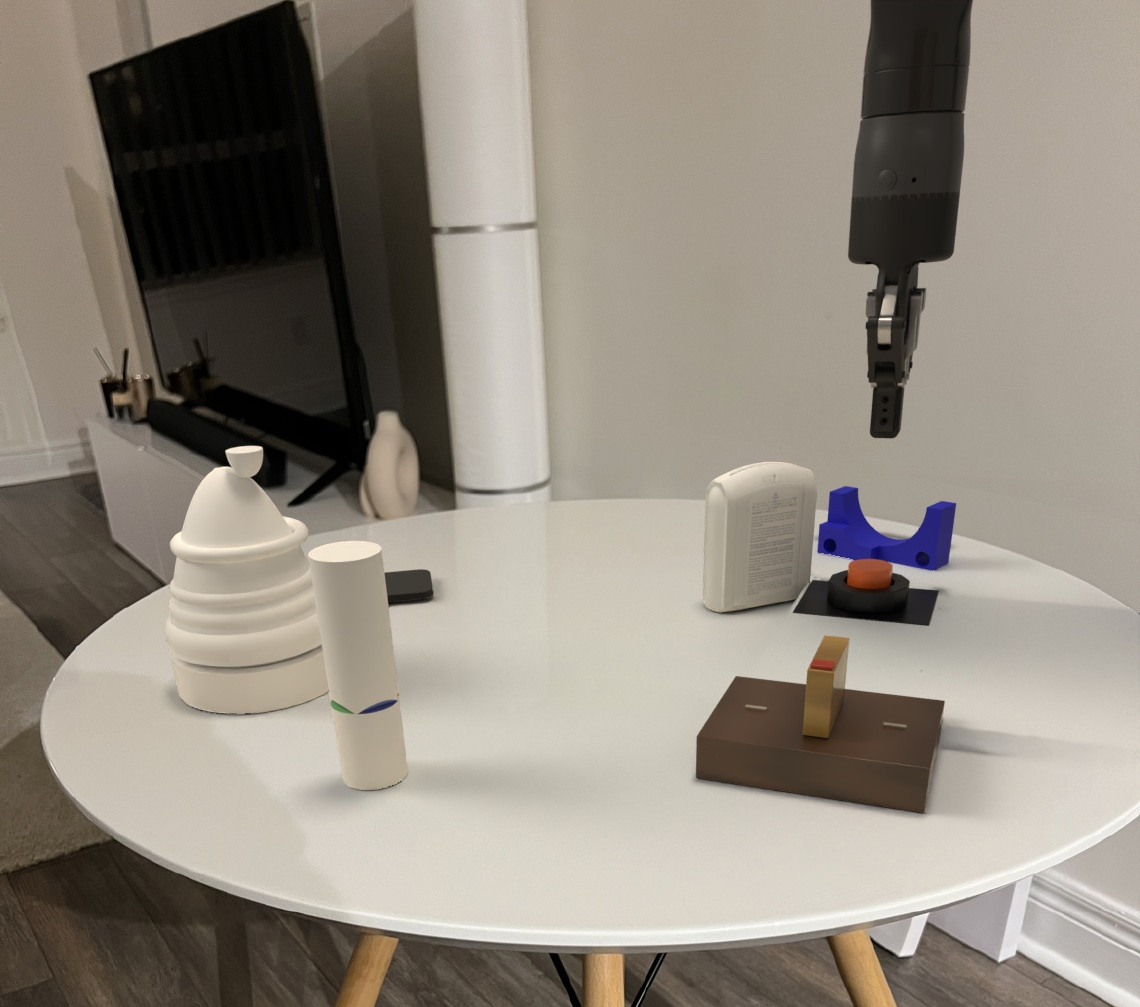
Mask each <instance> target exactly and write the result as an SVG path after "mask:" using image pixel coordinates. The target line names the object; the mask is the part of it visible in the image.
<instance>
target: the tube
mask: <svg viewBox="0 0 1140 1007" xmlns="http://www.w3.org/2000/svg"><path fill="white" fill-rule="evenodd" d="M307 557H308V561H309V564H310V570H311V577H312V583H313V590H314V597H315V603H316V610H317V616H318V623H319V629H320V636H321V643H322V649H323V656H324V662H325V669H326V675H327V682H328V688H329V691H328V694H329V699H330V700H331V701H330V708H331V714H332V719H333V720H332V721H333V728H334V734H335V740H336V746H337V747H336V748H337V752H338V760H339V765H340V766H339V767H340V773H341V779H342V783H344V785H345V786H347V787H349V788H352V789H355V790H359V791H375V790H383V789H387V788H390V787H393V786H395V785H397V784H399V783H401V782H402V781H403V780H404V779H405V778H406V777H407V776H408V774H409V768H408V767H409V766H408V760H407V759H408V758H407V751H406V743H405V742H406V741H405V734H404V725H403V718H402V717H403V716H402V709H401V708H402V707H401V700H400V692H399V683H398V676H397V667H396V658H395V650H394V649H395V648H394V642H393V633H392V624H391V617H390V607H389V602H388V599H387V590H386V582H385V567H384V566H385V565H384V558H383V549H382V546H381V544H378V543H376V542H372V541H365V540H345V541H337V542H331V543H326V544H323V545H320V546H316V547H315V548H312V549H311V550H310V551H309V552H308V555H307ZM407 773H408V774H407ZM406 775H407V776H406ZM405 776H406V777H405ZM403 778H404V779H403ZM400 781H401V782H400ZM398 782H399V783H398ZM392 785H393V786H392ZM389 786H390V787H389ZM382 788H383V789H382Z"/></svg>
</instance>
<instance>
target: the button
mask: <svg viewBox="0 0 1140 1007" xmlns="http://www.w3.org/2000/svg"><path fill="white" fill-rule="evenodd" d="M893 568H894V566H893V563H891V562H886V561H883V560H877V559H859V560H851V561H850V562H848V567H847V570H848V577H847V584H848V585H850V586H854V587H857V588H867V589H878V588H887V587H889V586H891V579H892V573H893Z"/></svg>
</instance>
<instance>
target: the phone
mask: <svg viewBox="0 0 1140 1007" xmlns="http://www.w3.org/2000/svg"><path fill="white" fill-rule="evenodd" d="M384 573H385V582H386V590H387V599H388V603H395V602H396V603H397V602H406V601H407V602H409V601H418V600H426V599H429V598H432V597H433V595H434V587H433V581H432V574H431V571H430V570H429V569H423V568H421V569H419V568H418V569H409V570H398V571H397V570H396V571H386V572H385V571H384Z"/></svg>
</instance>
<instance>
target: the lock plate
mask: <svg viewBox="0 0 1140 1007" xmlns="http://www.w3.org/2000/svg"><path fill="white" fill-rule="evenodd" d="M805 694H806V683H800V682H799V683H798V682H790V681H781V680H774V679H764V678H756V677H749V676H740V675H735V677H734V678H733V680H732V681H731V682H730V684H729V686H728V687H727V689H726V690H725V692H724V693H723V694H722V696H721V697H720V700H719V701H718V702H717V704H716V706H715V708H713V710H712V712H711V714H710V715H709V717H708V718H707V720H706V721H705V723H704V724H703V726H702V727H701V729H700V730H699V731H698V733H697V735H696V744H695V745H696V747H695V753H696V754H695V778H696V779H700V780H707V781H714V782H720V783H727V784H731V785H732V784H734V785H739V786H740V785H741V786H745V787H753V788H758V789H765V790H772V791H778V792H784V793H792V794H797V795H799V794H800V795H803V796H804V795H805V796H811V797H816V798H817V797H818V798H822V799H823V798H824V799H831V800H837V801H843V802H850V803H857V804H863V805H869V806H876V807H881V808H882V807H883V808H888V809H889V808H890V809H896V810H902V811H907V812H915V813H921V814H925V810H926V806H927V801H928V798H929V793H930V788H931V783H932V778H933V773H934V770H935V764H936V760H937V755H938V751H939V745H940V741H941V740H940V739H941V732H942V726H943V725H942V724H943V718H944V711H945V703H946V701H945V700H941V699H933V698H925V697H924V698H923V697H917V696H909V695H901V694H900V695H898V694H891V693H883V692H875V691H867V690H857V689H849V688H845V693H844V701H843V703H842V706H841V708H840V711H839V713H838V716H837V718H836V721H835V723H834V726H833V728H832V731H831V733H830V736H829V738H822V737H814V736H807V735H803V722H804V708H805Z"/></svg>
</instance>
